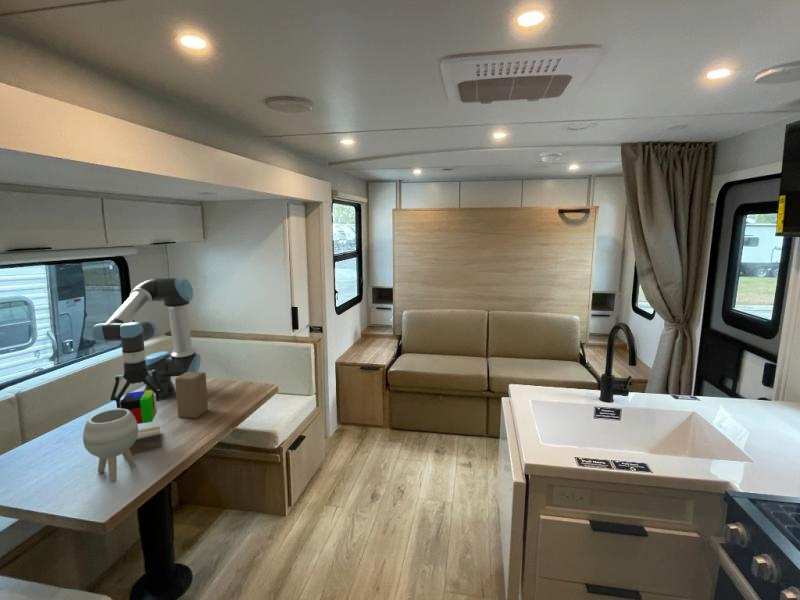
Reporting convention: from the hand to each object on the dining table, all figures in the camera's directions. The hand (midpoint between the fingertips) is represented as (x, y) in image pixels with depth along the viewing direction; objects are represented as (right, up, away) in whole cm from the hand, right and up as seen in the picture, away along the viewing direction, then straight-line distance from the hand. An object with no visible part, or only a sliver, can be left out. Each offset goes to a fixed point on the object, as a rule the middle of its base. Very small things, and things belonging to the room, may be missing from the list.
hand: (139, 411), depth 164 cm
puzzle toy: (0, -3, +1) cm, 3 cm away
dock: (0, -14, +2) cm, 14 cm away
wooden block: (+7, -10, +30) cm, 32 cm away
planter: (+3, -18, -18) cm, 25 cm away
